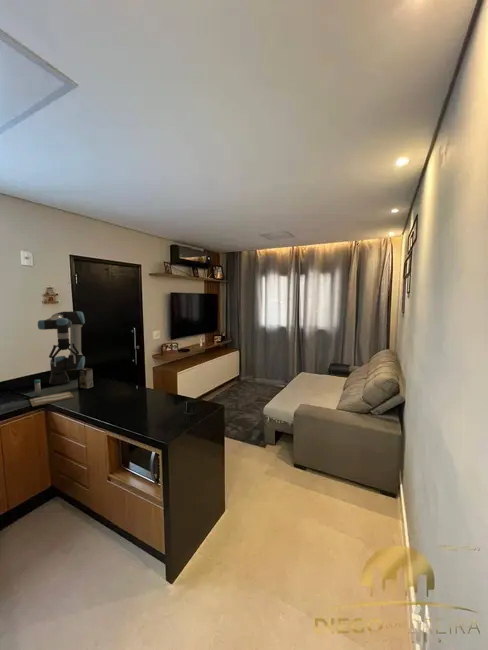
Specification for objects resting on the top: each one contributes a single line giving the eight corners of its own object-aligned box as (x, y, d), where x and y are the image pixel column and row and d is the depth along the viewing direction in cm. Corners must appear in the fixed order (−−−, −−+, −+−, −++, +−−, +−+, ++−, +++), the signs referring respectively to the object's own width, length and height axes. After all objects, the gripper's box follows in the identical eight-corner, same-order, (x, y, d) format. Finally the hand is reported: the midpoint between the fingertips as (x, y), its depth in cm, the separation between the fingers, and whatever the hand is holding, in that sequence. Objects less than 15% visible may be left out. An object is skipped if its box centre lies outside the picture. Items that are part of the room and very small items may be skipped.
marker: (35, 396, 223) (33, 380, 222) (40, 395, 226) (39, 379, 224) (35, 397, 221) (34, 381, 219) (41, 396, 223) (40, 380, 222)
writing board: (29, 400, 215) (29, 398, 215) (69, 392, 232) (69, 391, 232) (32, 406, 203) (32, 405, 203) (73, 398, 220) (73, 396, 220)
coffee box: (79, 387, 245) (78, 369, 243) (86, 385, 251) (85, 367, 249) (87, 388, 241) (86, 370, 239) (93, 386, 247) (92, 368, 245)
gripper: (45, 340, 211) (47, 368, 213) (82, 337, 228) (84, 362, 231) (43, 339, 216) (45, 366, 219) (79, 335, 233) (81, 361, 236)
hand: (65, 364), depth 225 cm, fingers open, 13 cm apart
